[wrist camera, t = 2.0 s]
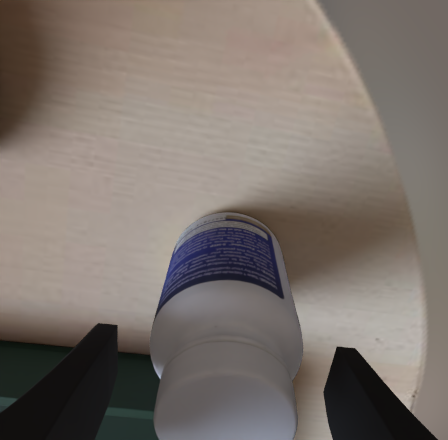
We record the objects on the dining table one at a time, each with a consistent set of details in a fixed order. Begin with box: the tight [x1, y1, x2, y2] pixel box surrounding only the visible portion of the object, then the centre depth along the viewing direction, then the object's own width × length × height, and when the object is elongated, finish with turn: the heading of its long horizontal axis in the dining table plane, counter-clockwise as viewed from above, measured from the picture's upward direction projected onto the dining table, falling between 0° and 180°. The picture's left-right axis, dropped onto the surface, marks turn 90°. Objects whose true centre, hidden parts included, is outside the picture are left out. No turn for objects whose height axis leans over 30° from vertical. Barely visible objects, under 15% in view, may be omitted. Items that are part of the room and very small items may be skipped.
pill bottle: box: [150, 212, 303, 440], centre depth 14 cm, size 5×5×9 cm
